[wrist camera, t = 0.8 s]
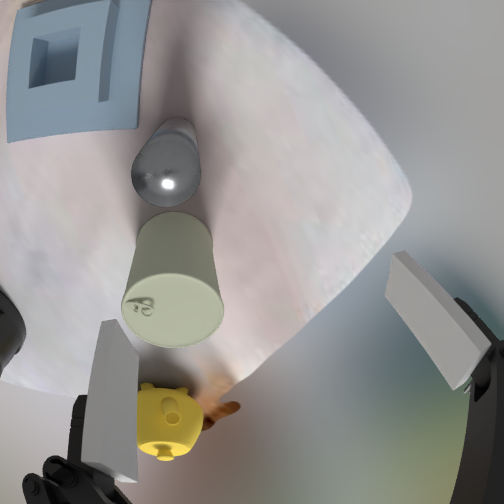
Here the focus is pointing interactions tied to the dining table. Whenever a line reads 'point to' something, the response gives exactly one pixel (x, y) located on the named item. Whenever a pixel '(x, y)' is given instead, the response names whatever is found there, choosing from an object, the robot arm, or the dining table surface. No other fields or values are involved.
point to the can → (173, 283)
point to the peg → (168, 165)
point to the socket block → (75, 67)
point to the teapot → (167, 421)
